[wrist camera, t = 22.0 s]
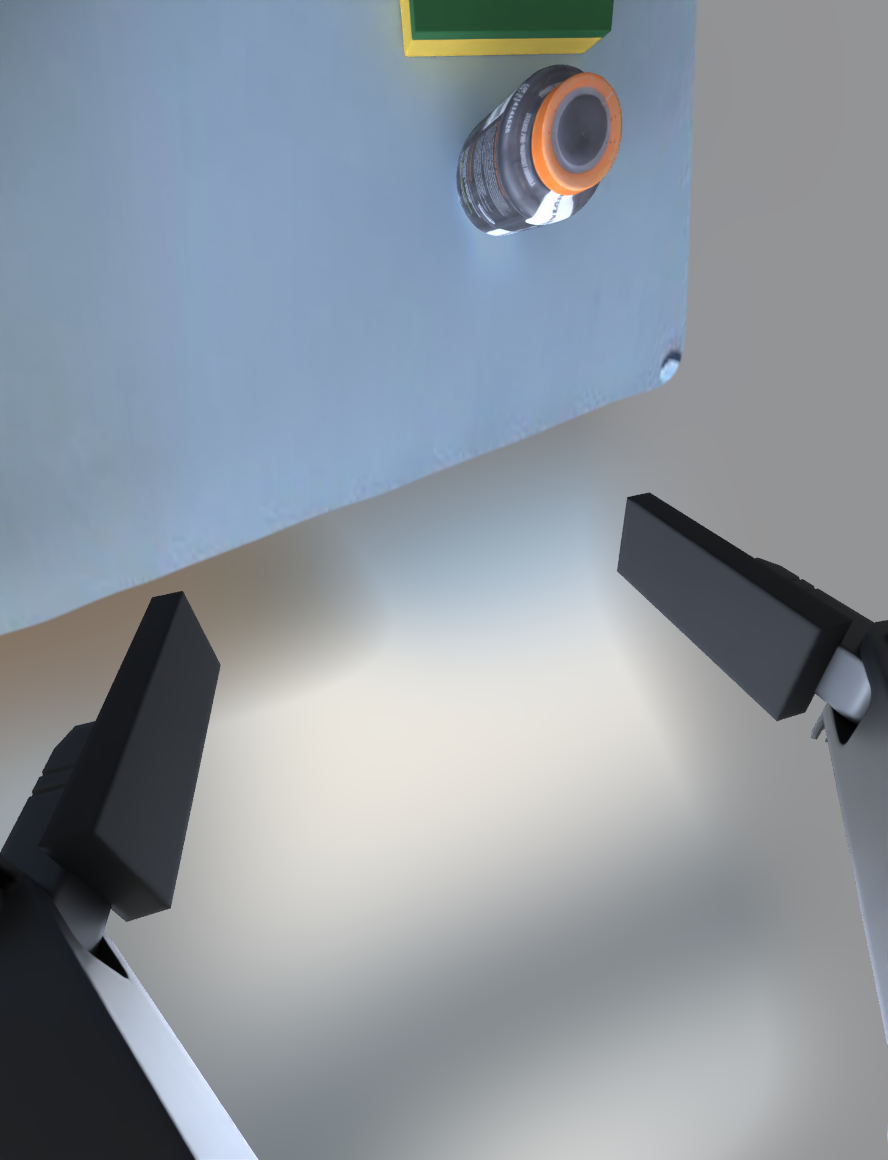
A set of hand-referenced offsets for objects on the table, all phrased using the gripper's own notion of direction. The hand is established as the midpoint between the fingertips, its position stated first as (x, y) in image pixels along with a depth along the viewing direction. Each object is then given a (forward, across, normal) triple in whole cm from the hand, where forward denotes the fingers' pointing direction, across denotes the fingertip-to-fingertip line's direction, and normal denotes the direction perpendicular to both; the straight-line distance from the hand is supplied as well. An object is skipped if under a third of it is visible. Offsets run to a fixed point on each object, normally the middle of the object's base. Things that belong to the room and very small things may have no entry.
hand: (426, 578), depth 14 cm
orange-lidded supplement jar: (+26, +12, +12) cm, 31 cm away
